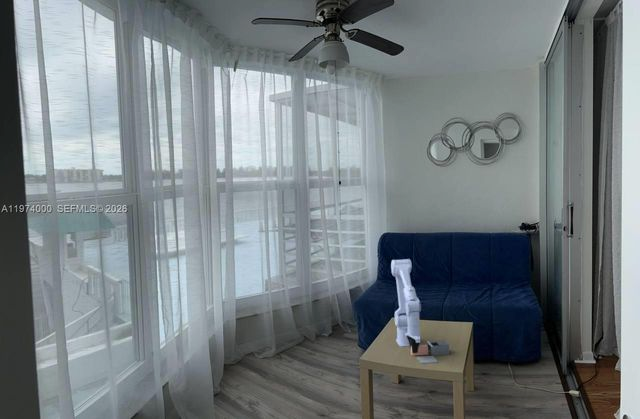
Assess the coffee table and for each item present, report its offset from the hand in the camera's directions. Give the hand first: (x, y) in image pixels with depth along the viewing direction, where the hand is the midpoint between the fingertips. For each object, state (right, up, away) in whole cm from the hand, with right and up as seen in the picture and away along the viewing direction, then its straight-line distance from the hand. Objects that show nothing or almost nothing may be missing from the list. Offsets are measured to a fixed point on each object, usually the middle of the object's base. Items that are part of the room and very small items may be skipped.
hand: (414, 351), depth 208 cm
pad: (+5, -2, -6) cm, 8 cm away
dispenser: (+11, -1, +1) cm, 11 cm away
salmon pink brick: (+3, -1, 0) cm, 3 cm away
